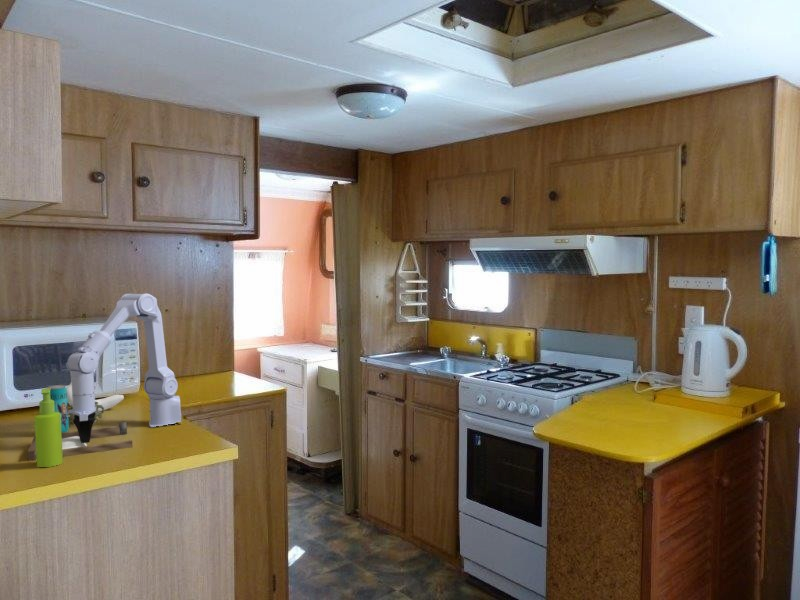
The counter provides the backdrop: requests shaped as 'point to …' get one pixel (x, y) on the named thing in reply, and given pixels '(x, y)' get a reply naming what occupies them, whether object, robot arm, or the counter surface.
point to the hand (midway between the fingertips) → (85, 440)
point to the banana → (104, 402)
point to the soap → (72, 442)
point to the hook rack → (94, 448)
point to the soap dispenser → (48, 433)
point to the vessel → (95, 412)
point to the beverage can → (60, 404)
